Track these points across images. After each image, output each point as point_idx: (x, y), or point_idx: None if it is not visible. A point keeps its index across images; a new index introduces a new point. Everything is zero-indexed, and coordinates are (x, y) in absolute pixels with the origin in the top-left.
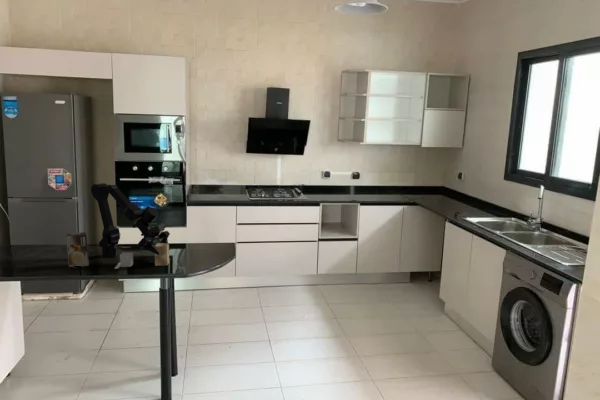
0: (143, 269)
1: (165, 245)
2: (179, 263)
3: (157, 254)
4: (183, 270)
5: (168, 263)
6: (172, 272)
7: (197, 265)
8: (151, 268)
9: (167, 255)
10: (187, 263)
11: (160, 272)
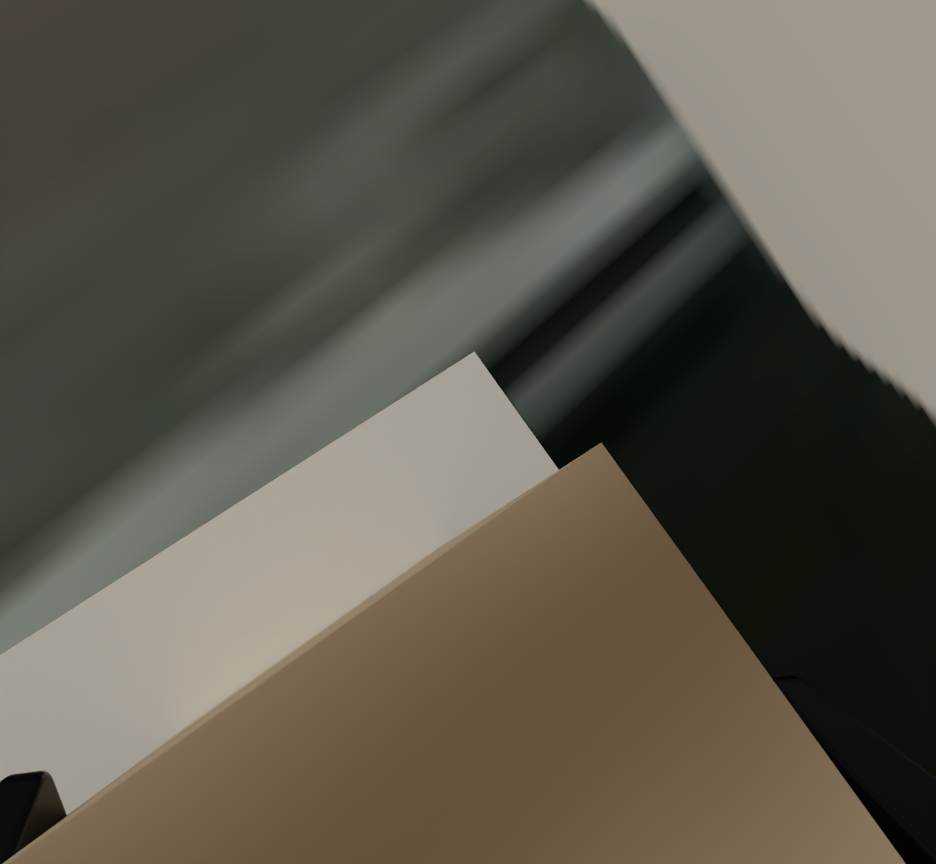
0: None
1: (537, 632)
2: (96, 458)
3: None
4: (488, 67)
5: (288, 654)
6: (694, 172)
7: (48, 8)
8: None
9: (422, 562)
10: (5, 288)
11: (823, 368)
